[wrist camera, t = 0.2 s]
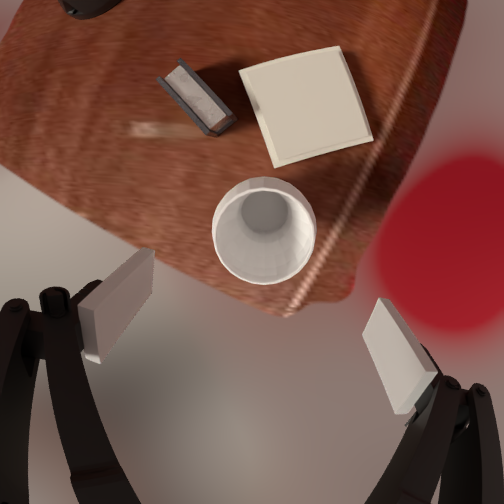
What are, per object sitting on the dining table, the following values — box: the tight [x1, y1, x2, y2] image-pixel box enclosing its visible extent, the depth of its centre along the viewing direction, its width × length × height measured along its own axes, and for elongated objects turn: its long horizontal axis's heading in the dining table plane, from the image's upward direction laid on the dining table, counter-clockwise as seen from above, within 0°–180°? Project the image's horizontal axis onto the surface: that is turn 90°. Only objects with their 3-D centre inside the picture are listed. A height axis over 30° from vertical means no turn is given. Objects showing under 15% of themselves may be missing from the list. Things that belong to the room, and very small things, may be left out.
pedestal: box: [239, 46, 374, 168], centre depth 33 cm, size 14×14×4 cm
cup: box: [212, 176, 317, 285], centre depth 33 cm, size 11×11×15 cm
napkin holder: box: [156, 58, 238, 137], centre depth 32 cm, size 10×4×7 cm, turn 39°
